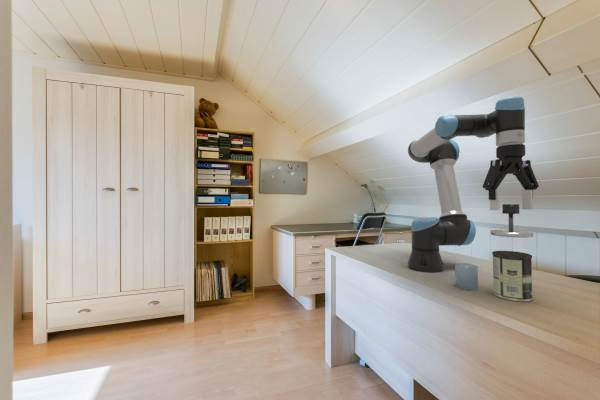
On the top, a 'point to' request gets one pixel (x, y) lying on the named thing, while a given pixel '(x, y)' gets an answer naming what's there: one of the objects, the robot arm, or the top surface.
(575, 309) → the top surface
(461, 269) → the frosted blue tumbler
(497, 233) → the plunger
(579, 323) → the top surface
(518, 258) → the coffee can
